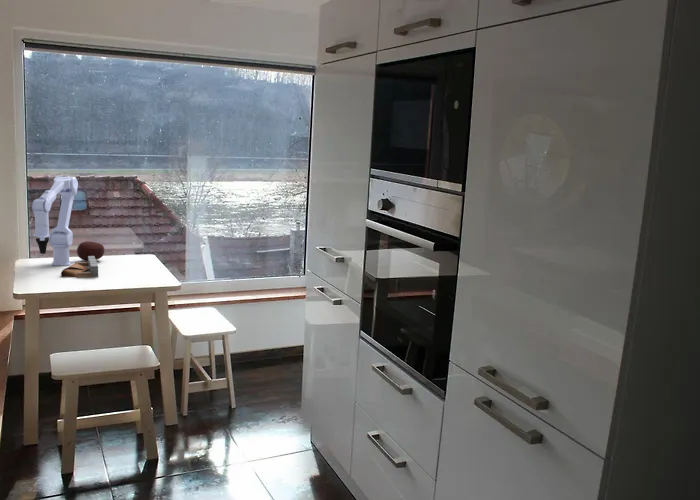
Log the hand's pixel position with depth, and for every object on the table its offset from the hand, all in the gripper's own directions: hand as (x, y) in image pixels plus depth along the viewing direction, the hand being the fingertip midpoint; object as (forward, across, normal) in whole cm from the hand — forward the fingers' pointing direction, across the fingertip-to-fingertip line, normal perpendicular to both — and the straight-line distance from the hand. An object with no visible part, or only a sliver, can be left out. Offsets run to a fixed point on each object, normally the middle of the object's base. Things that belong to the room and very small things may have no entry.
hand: (42, 253), depth 298 cm
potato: (+9, -21, +22) cm, 32 cm away
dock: (+8, +5, +19) cm, 21 cm away
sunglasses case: (+9, +8, +14) cm, 19 cm away
